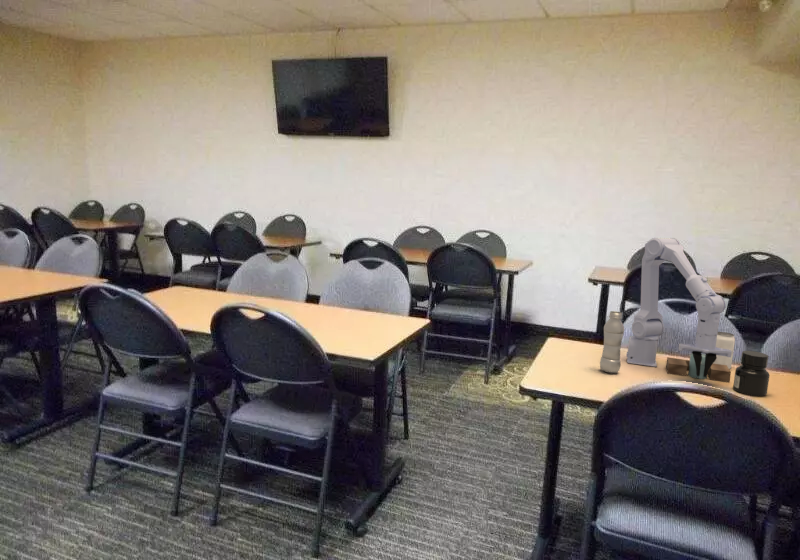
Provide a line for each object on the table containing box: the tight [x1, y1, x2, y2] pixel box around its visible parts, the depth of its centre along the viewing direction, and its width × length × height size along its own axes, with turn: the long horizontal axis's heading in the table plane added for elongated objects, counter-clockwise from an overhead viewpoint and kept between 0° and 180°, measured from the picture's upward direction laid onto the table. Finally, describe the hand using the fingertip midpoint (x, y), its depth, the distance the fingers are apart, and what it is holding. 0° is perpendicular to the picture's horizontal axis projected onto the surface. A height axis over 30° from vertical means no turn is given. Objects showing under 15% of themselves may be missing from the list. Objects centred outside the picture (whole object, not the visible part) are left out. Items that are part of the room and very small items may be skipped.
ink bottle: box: [732, 350, 770, 397], centre depth 173 cm, size 10×9×12 cm
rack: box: [665, 357, 731, 383], centre depth 188 cm, size 18×8×4 cm, turn 69°
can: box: [713, 331, 736, 370], centre depth 198 cm, size 6×6×12 cm
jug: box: [687, 352, 708, 380], centre depth 184 cm, size 6×11×7 cm, turn 159°
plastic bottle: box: [599, 310, 625, 374], centre depth 185 cm, size 6×7×20 cm
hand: (701, 375), depth 180 cm, fingers closed on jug
